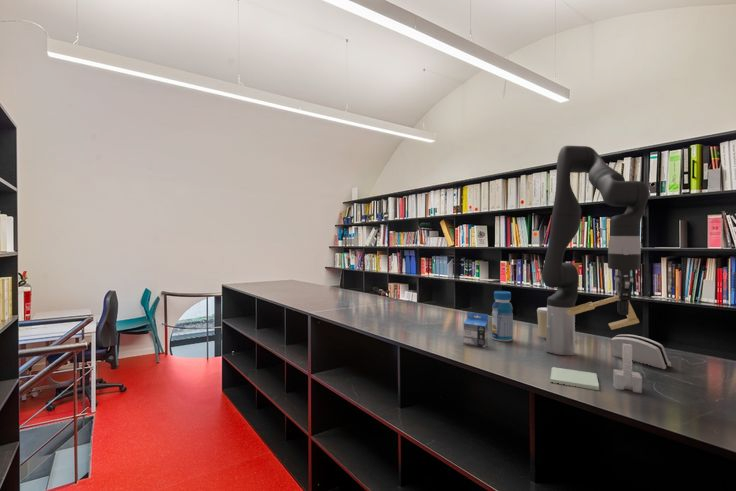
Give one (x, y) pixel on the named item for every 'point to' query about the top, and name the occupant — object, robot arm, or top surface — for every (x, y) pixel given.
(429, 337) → the top surface
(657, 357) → the white arched piece
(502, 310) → the beverage bottle
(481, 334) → the label tape cartridge
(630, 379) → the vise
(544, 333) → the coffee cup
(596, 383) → the mat
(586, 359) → the top surface
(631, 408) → the top surface
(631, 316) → the square loop paddle
